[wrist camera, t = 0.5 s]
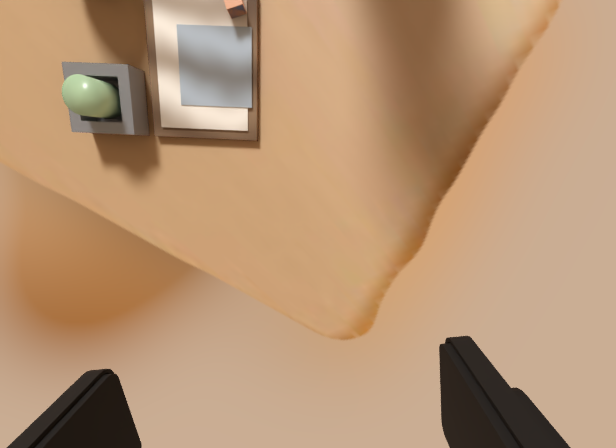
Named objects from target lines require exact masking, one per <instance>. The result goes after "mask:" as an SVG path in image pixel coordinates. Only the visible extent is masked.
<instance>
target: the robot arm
mask: <svg viewBox="0 0 616 448" xmlns="http://www.w3.org/2000/svg"><path fill="white" fill-rule="evenodd" d="M439 352H440V384H441V417H442V427H443V431H444V435H445V437H446V440H447V442H448V444H449V447H450V448H570V447H569V446H568V444H567V443H566V442H565V441H564V439H563V438H562V437H561V436H560V435H559V433H558V432H557V431H556V430H555V429H554V427H553V426H552V425H551V424H550V423H549V421H548V420H547V419H546V418H545V417H544V415H543V414H542V413H541V412H540V411H539V410H538V408H537V407H536V406H535V405H534V403H533V402H532V401H531V400H530V399H529V397H528V396H527V395H526V394H525V393H524V392H523V391H522V390H520V389H518V388H510V386H509V385H508V384H507V382H506V381H505V380H504V379H503V378H502V376H501V375H500V374H499V372H498V371H497V370H496V369H495V367H494V366H493V365H492V364H491V362H490V361H489V360H488V359H487V357H486V356H485V355H484V354H483V352H482V351H481V350H480V348H479V347H478V346H477V345H476V343H475V342H474V341H473V340H472V338H470V337H469V336H461V337H450V338H446V342H445V344H440V347H439ZM7 448H141V441H140V438H139V436H138V433H137V430H136V427H135V424H134V422H133V418H132V415H131V413H130V410H129V406H128V404H127V401H126V398H125V395H124V392H123V389H122V386H121V383H120V380H119V377H118V376H117V375H116V374H114V372H113V371H112V370H111V369H101V370H91V371H87V372H86V373H84V374H83V375H82V376H81V377H80V378H79V379H78V380H77V381H76V382H75V383H74V384H73V385H72V386H70V388H69V389H67V390H66V391H65V392H64V393H63V394H62V395H61V396H60V397H59V398H58V399H57V400H56V401H55V402H54V403H53V404H52V405H51V406H50V407H49V408H48V409H47V410H46V411H45V412H43V413H42V414H41V416H39V417H38V418H37V419H36V420H35V421H34V422H33V423H32V424H31V425H30V426H29V427H28V428H27V429H26V430H25V431H24V432H23V433H22V434H21V435H20V436H19V437H17V438H16V439H15V440H14V441H13V442H12V443H11V444H10V445H9V446H8V447H7Z"/></svg>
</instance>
